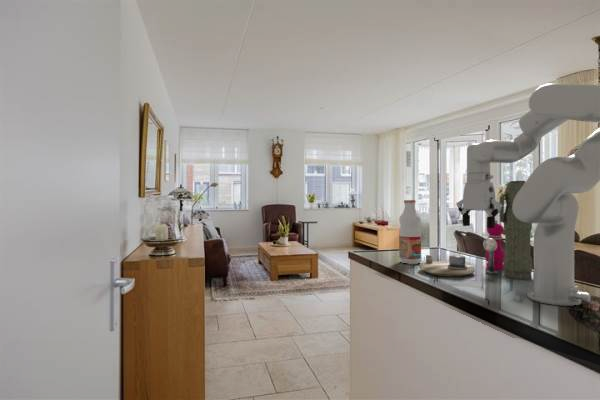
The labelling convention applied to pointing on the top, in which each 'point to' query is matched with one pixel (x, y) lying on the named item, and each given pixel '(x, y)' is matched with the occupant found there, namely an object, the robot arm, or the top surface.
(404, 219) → the fruit juice
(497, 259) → the pepper mill
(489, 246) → the globe topped trophy
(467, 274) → the turntable base
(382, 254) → the top surface
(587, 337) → the top surface
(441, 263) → the turntable
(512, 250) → the thermos
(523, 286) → the top surface
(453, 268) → the cover
